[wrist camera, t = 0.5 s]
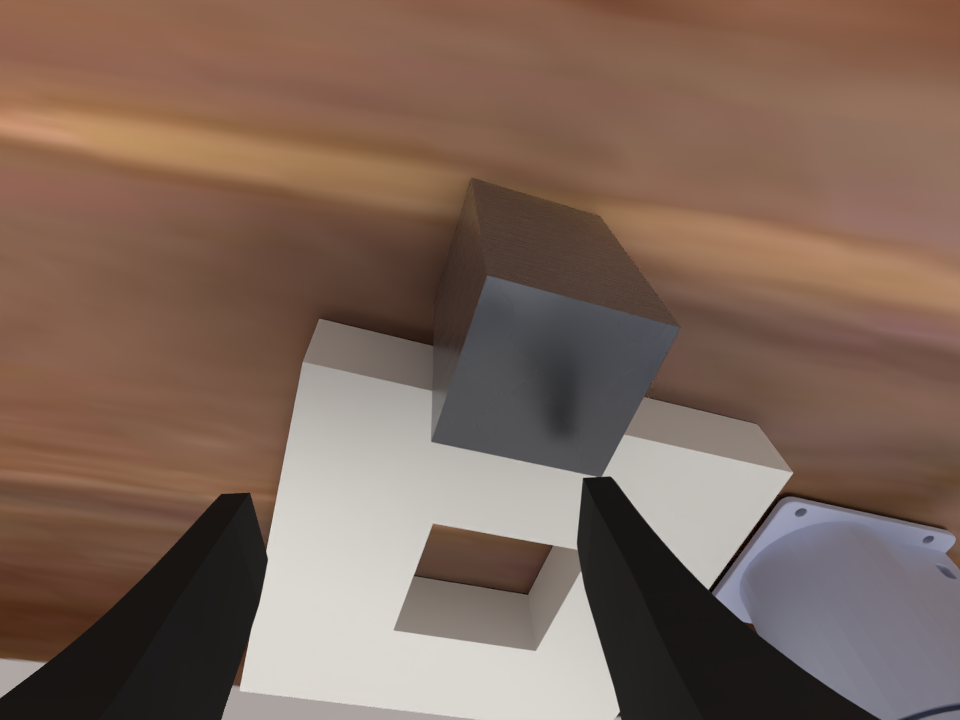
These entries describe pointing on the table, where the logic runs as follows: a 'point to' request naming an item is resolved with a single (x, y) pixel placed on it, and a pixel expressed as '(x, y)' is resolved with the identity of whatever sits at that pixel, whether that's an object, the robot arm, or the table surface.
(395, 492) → the hole board
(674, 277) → the table surface
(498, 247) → the square peg
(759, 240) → the table surface
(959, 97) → the table surface
